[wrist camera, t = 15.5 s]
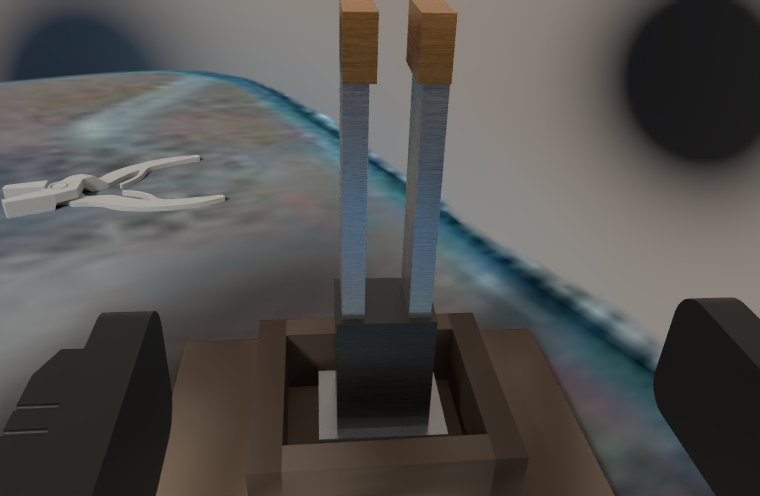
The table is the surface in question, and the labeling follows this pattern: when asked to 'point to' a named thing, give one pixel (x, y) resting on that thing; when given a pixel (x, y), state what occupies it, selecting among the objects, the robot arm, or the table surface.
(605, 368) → the table surface
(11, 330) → the table surface
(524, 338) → the stand
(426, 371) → the tongs
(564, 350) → the table surface
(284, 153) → the table surface
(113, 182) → the pliers
